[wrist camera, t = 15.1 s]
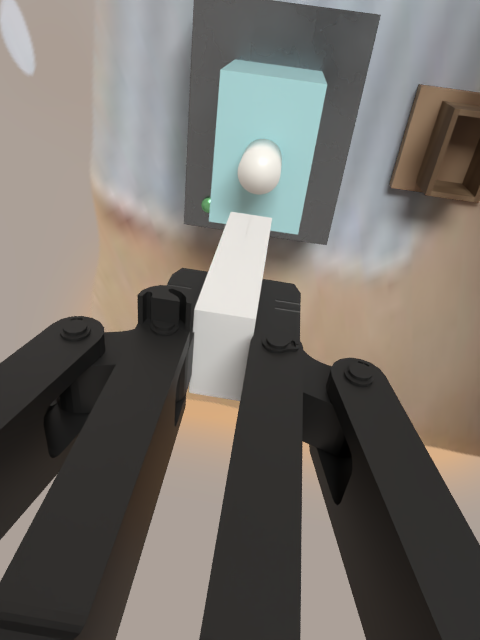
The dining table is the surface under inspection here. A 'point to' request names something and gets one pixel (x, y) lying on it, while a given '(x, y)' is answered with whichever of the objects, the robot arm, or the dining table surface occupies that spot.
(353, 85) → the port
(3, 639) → the robot arm
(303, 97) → the teal and white block
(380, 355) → the dining table surface
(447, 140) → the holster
